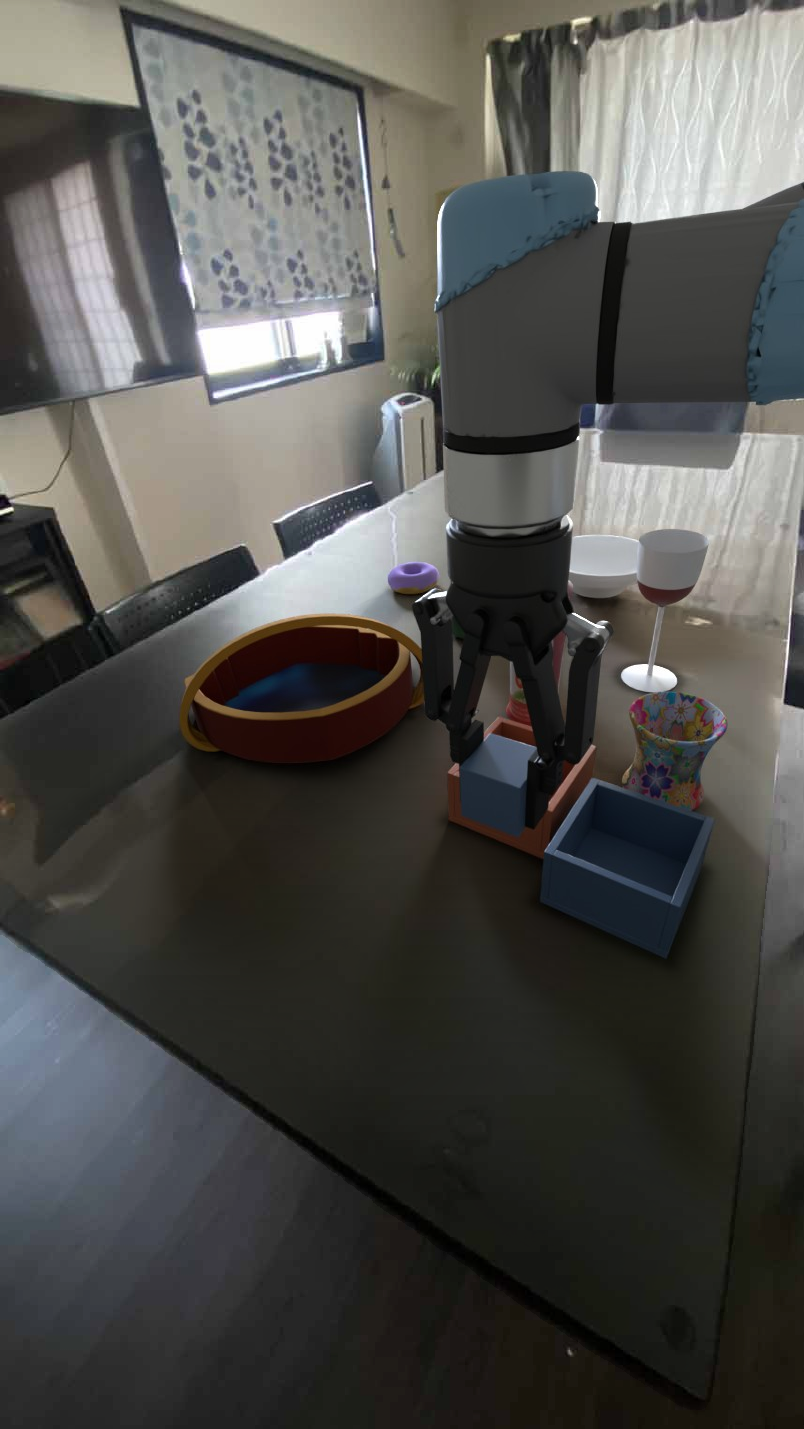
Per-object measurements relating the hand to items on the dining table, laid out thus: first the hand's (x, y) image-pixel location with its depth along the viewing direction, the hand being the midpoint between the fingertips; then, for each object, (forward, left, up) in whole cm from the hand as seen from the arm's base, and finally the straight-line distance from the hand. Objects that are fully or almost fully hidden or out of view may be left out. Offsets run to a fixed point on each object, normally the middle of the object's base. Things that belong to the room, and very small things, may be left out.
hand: (503, 804), depth 51 cm
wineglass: (+1, -47, -14) cm, 49 cm away
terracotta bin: (+5, -14, -14) cm, 21 cm away
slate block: (0, 0, 0) cm, 0 cm away
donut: (+49, -59, -14) cm, 78 cm away
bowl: (+18, -72, -14) cm, 76 cm away
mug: (-7, -25, -14) cm, 30 cm away
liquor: (+11, -30, -14) cm, 35 cm away
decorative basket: (+37, -16, -14) cm, 43 cm away
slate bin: (-8, -9, -14) cm, 19 cm away
